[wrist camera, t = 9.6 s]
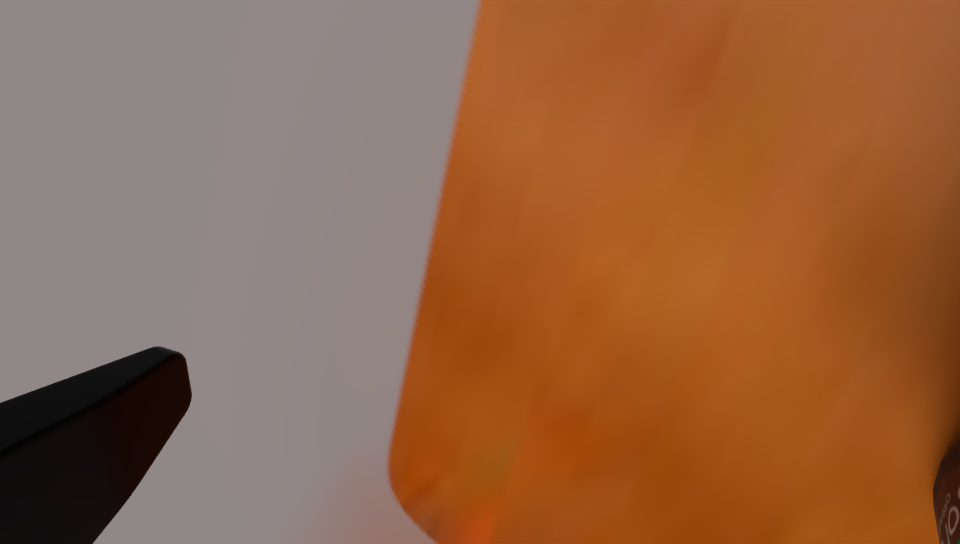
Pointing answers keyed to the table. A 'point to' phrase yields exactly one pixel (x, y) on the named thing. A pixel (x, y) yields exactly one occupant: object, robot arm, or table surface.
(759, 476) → the table surface
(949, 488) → the food container
